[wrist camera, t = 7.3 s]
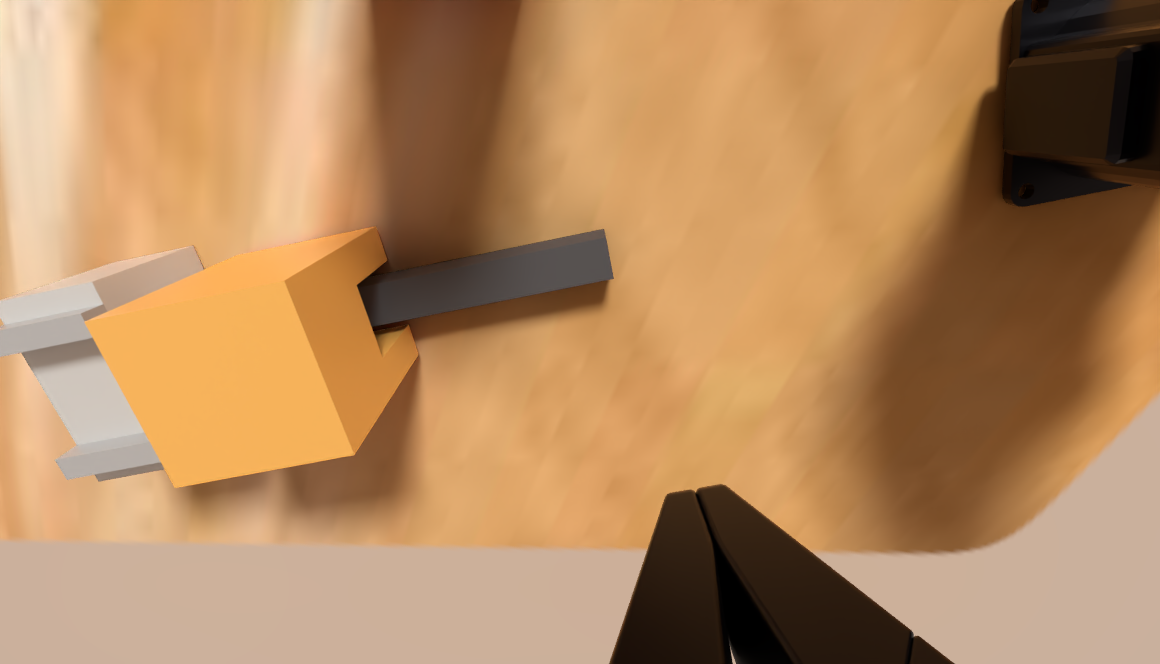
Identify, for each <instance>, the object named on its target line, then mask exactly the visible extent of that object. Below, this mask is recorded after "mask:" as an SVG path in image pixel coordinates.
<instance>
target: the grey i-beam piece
mask: <svg viewBox="0 0 1160 664" xmlns="http://www.w3.org/2000/svg"><path fill="white" fill-rule="evenodd" d="M202 270H204V268H203V266H202V264H201V262H200V259H199V257H198V255H197V253H196V251H195V248H194V246H188V247H184V248H179V249H174V250H169V251H165V252H160V253H155V254H151V255H146V256H141V257H137V258H132V259H127V260H123V261H118V262H113V263H110V264H107V265H104V266H101V267H98V268H95V269H92V270H89V271H86V272H83V273H80V274H77V275H74V276H71V277H68V278H65V279H62V280H59V281H56V282H53V283H50V284H47V285H44V286H41V287H38V288H35V289H32V290H29V291H26V292H23V293H20V294H17V295H14V296H11V297H8V298H5V299H2V300H0V318H1V320H2V321H3V323H4V325H2V326H0V357H2V356H6V355H11V354H16V353H22V355H23V356H24V358H25V360H26V361H27V363H28V365H29V366H30V368H31V370H32V371H33V373H34V375H35V376H36V378H37V380H38V381H39V383H40V385H41V386H42V388H43V390H44V391H45V393H46V395H47V396H48V398H49V400H50V401H51V403H52V405H53V406H54V408H55V410H56V411H57V413H58V415H59V416H60V418H61V420H62V421H63V423H64V425H65V426H66V428H67V430H68V431H69V433H70V435H71V436H72V438H73V440H74V441H75V443H76V446H75V447H73V448H72V449H70V450H69V451H67V452H66V453H64V454H63V455H61V456H60V457H59V458H57V459H56V460H55V461H56V463H57V464H58V466H59V467H60V469H61V471H62V472H63V474H64V475H65V477H66V479H67V480H68V479H74V478H79V477H84V476H90V475H95V476H96V478H97V480H98V481H104V480H110V479H115V478H120V477H126V476H131V475H137V474H142V473H147V472H153V471H158V470H163V469H164V467H163V465H162V464H161V462H160V460H159V458H158V456H157V454H156V453H155V451H154V449H153V447H152V445H151V443H150V442H149V440H148V438H147V436H146V434H145V433H144V431H143V429H142V427H141V425H140V423H139V422H138V420H137V418H136V416H135V414H134V412H133V411H132V409H131V407H130V405H129V403H128V401H127V400H126V398H125V396H124V394H123V392H122V390H121V389H120V387H119V385H118V383H117V381H116V379H115V378H114V376H113V374H112V372H111V370H110V369H109V367H108V365H107V363H106V361H105V359H104V358H103V356H102V354H101V352H100V350H99V348H98V347H97V345H96V343H95V341H94V339H93V337H92V336H91V334H90V332H89V330H88V328H87V326H86V325H85V323H84V322H85V321H87V320H89V319H92V318H94V317H96V316H99V315H101V314H103V313H106V312H108V311H110V310H112V309H115V308H117V307H119V306H122V305H124V304H126V303H129V302H131V301H133V300H135V299H138V298H140V297H142V296H145V295H147V294H149V293H152V292H154V291H156V290H158V289H161V288H163V287H165V286H168V285H170V284H172V283H175V282H177V281H179V280H181V279H184V278H186V277H188V276H191V275H193V274H195V273H198V272H200V271H202Z"/></svg>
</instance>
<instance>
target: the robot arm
mask: <svg viewBox="0 0 1160 664" xmlns="http://www.w3.org/2000/svg"><path fill="white" fill-rule="evenodd" d="M1031 3H1032V0H1016V1H1015V2H1014V6H1013V12H1012V30H1011V48H1010V65H1009V68H1008V69H1007V81H1006V99H1005V116H1004V134H1003V149H1004V150H1005V153H1004V170H1003V188H1002V195H1003V199H1004V200H1005V202H1006V203H1009V204H1011V205H1015V206H1030V205H1035V204H1040V203H1045V202H1050V201H1055V200H1060V199H1065V198H1070V197H1076V196H1081V195H1086V194H1091V193H1096V192H1101V191H1106V190H1111V189H1116V188H1121V187H1126V186H1131V185H1139V186H1146V187H1153V188H1160V0H1038V3H1039V5H1038V8H1037V10H1036V11H1035V13H1034V12H1033V11H1032V10H1031ZM1024 184H1025V187H1026V189H1025V192H1024V193H1023V194H1022V195H1021V196H1019V195H1018V192H1019V189H1020V188H1021V187H1022V185H1024ZM730 647H731V650H732V653H733V656H734V659H735V662H736V664H954V663H953V662H952V661H950V660H949V659H948V658H946V657H945V656H944V655H942V654H941V653H940V652H939V651H937V650H936V649H935V648H934V647H932V646H931V645H930V644H929V643H927V642H926V641H925V640H923V639H922V638H921V637H919V636H915V637H914V634H913V632H912V631H911V630H910V629H909V628H908V627H906V626H905V625H904V624H903V623H901V622H900V621H898V620H897V619H896V618H895V617H894V616H892V615H891V614H890V613H888V612H887V611H886V610H884V609H883V608H882V607H881V606H879V605H878V604H877V603H876V602H874V601H873V600H872V599H871V598H869V597H868V596H867V595H865V594H864V593H863V592H862V591H860V590H859V589H858V588H856V587H855V586H854V585H853V584H851V583H850V582H849V581H847V580H846V579H845V578H844V577H842V576H841V575H840V574H839V573H837V572H836V571H835V570H833V569H832V568H831V567H830V566H828V565H827V564H826V563H824V562H823V561H822V560H821V559H819V558H818V557H817V556H815V555H814V554H813V553H812V552H810V551H809V550H808V549H807V548H805V547H804V546H803V545H801V544H800V543H799V542H798V541H796V540H795V539H794V538H792V537H791V536H790V535H789V534H787V533H786V532H785V531H783V530H782V529H781V528H780V527H778V526H777V525H776V524H775V523H773V522H772V521H771V520H769V519H768V518H767V517H766V516H764V515H763V514H762V513H760V512H759V511H758V510H757V509H755V508H754V507H753V506H751V505H750V504H749V503H748V502H746V501H745V500H744V499H743V498H741V497H740V496H739V495H737V494H736V493H735V492H734V491H732V490H731V489H730V488H728V487H727V486H726V485H723V484H719V485H713V486H707V487H702V488H698V489H697V491H696V493H695V492H694V491H693V490H684V491H679V492H673V493H669V494H667V495H666V497H665V499H664V502H663V505H662V508H661V511H660V514H659V517H658V520H657V523H656V526H655V529H654V532H653V535H652V538H651V541H650V544H649V547H648V550H647V553H646V556H645V559H644V562H643V565H642V568H641V570H640V573H639V577H638V580H637V582H636V586H635V588H634V591H633V594H632V597H631V601H630V603H629V606H628V609H627V612H626V615H625V618H624V621H623V624H622V627H621V630H620V633H619V636H618V639H617V642H616V645H615V648H614V651H613V654H612V657H611V660H610V663H609V664H733V663H732V657H731V650H730Z"/></svg>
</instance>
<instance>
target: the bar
mask: <svg viewBox="0 0 1160 664" xmlns="http://www.w3.org/2000/svg"><path fill="white" fill-rule="evenodd" d="M610 279H614V278H613V273H612V267H611V262H610V257H609V251H608V246H607V241H606V236H605V232H604V229H601V230H596V231H592V232H587V233H582V234H577V235H572V236H567V237H562V238H557V239H552V240H548V241H543V242H538V243H533V244H528V245H523V246H518V247H513V248H508V249H504V250H499V251H494V252H489V253H484V254H479V255H474V256H469V257H465V258H460V259H455V260H450V261H445V262H440V263H435V264H430V265H425V266H421V267H416V268H411V269H406V270H401V271H396V272H391V273H386V274H381V275H377V276H372V277H367V278H365V279H364V280H362V281H361V282H360V283H359V284H357V288H358V290H359V293H360V296H361V299H362V302H363V304H364V307H365V310H366V313H367V316H368V318H369V321H370V324H371V327H373V326H378V325H383V324H388V323H393V322H398V321H403V320H409V319H414V318H419V317H424V316H429V315H434V314H439V313H444V312H449V311H454V310H459V309H464V308H469V307H474V306H479V305H484V304H489V303H494V302H499V301H504V300H509V299H514V298H519V297H524V296H529V295H534V294H539V293H544V292H550V291H555V290H560V289H565V288H570V287H575V286H580V285H585V284H590V283H595V282H600V281H605V280H610Z"/></svg>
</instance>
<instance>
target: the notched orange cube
mask: <svg viewBox="0 0 1160 664" xmlns="http://www.w3.org/2000/svg"><path fill="white" fill-rule="evenodd" d="M386 261H387V258H386V255H385V252H384V249H383V246H382V243H381V240H380V237H379V234H378V231H377V228H376V226H375V227H370V228H365V229H360V230H356V231H351V232H346V233H341V234H337V235H332V236H327V237H322V238H318V239H313V240H308V241H303V242H299V243H294V244H289V245H284V246H280V247H275V248H270V249H265V250H261V251H256V252H251V253H246V254H242V255H237V256H234V257H232V258H230V259H227V260H225V261H223V262H221V263H218V264H216V265H214V266H211V267H209V268H207V269H204V270H202V271H200V272H198V273H195V274H193V275H191V276H188V277H186V278H184V279H181V280H179V281H177V282H175V283H172V284H170V285H168V286H165V287H163V288H161V289H158V290H156V291H154V292H152V293H149V294H147V295H145V296H142V297H140V298H138V299H135V300H133V301H131V302H129V303H126V304H124V305H122V306H119V307H117V308H115V309H112V310H110V311H108V312H106V313H103V314H101V315H99V316H96V317H94V318H92V319H89V320H87V321H85V322H84V323H85V325H86V326H87V328H88V330H89V332H90V334H91V336H92V337H93V339H94V341H95V343H96V345H97V347H98V348H99V350H100V352H101V354H102V356H103V358H104V359H105V361H106V363H107V365H108V367H109V369H110V370H111V372H112V374H113V376H114V378H115V379H116V381H117V383H118V385H119V387H120V389H121V390H122V392H123V394H124V396H125V398H126V400H127V401H128V403H129V405H130V407H131V409H132V411H133V412H134V414H135V416H136V418H137V420H138V422H139V423H140V425H141V427H142V429H143V431H144V433H145V434H146V436H147V438H148V440H149V442H150V443H151V445H152V447H153V449H154V451H155V453H156V454H157V456H158V458H159V460H160V462H161V464H162V465H163V467H164V469H165V471H166V473H167V475H168V476H169V478H170V480H171V482H172V484H173V486H174V487H175V488H178V487H183V486H189V485H194V484H200V483H205V482H211V481H216V480H222V479H227V478H232V477H238V476H243V475H249V474H254V473H260V472H265V471H271V470H276V469H281V468H287V467H292V466H298V465H303V464H309V463H314V462H320V461H325V460H330V459H336V458H341V457H347V456H352V455H355V453H356V452H357V450H358V449H359V447H360V446H361V444H362V442H363V441H364V439H365V438H366V436H367V435H368V433H369V431H370V430H371V428H372V427H373V425H374V424H375V422H376V421H377V419H378V417H379V416H380V414H381V413H382V411H383V410H384V408H385V406H386V405H387V403H388V402H389V400H390V399H391V397H392V395H393V394H394V392H395V391H396V389H397V388H398V386H399V384H400V383H401V381H402V380H403V378H404V377H405V375H406V374H407V372H408V370H409V369H410V367H411V366H412V364H413V363H414V361H415V359H416V358H417V356H418V355H419V354H418V351H417V348H416V345H415V342H414V339H413V336H412V333H411V330H410V327H409V324H408V325H403V326H398V327H393V328H388V329H383V330H378V331H373V330H372V327H371V324H370V321H369V318H368V316H367V313H366V310H365V307H364V304H363V302H362V299H361V296H360V293H359V290H358V288H357V284H359V283H360V282H361V281H362V280H364V279H365V278H366V277H367V276H369V275H370V274H371V273H372V272H374V271H375V270H376V269H377V268H378V267H380V266H381V265H382V264H383V263H385V262H386Z"/></svg>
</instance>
